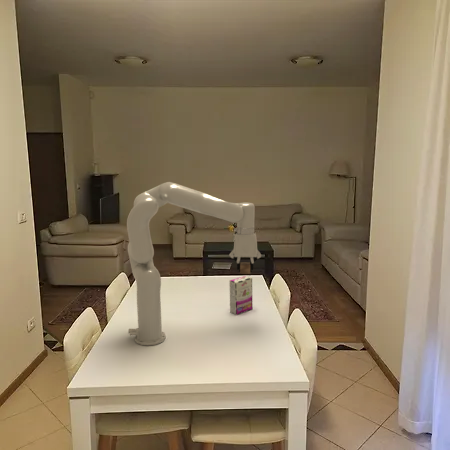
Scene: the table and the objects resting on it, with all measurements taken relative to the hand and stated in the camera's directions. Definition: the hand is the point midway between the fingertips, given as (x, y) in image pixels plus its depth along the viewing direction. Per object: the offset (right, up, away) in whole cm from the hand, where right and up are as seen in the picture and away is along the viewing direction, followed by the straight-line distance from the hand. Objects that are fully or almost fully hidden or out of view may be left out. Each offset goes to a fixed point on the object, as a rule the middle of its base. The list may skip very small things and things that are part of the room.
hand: (245, 270), depth 179 cm
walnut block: (0, -1, 0) cm, 1 cm away
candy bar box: (-1, -22, +18) cm, 29 cm away
